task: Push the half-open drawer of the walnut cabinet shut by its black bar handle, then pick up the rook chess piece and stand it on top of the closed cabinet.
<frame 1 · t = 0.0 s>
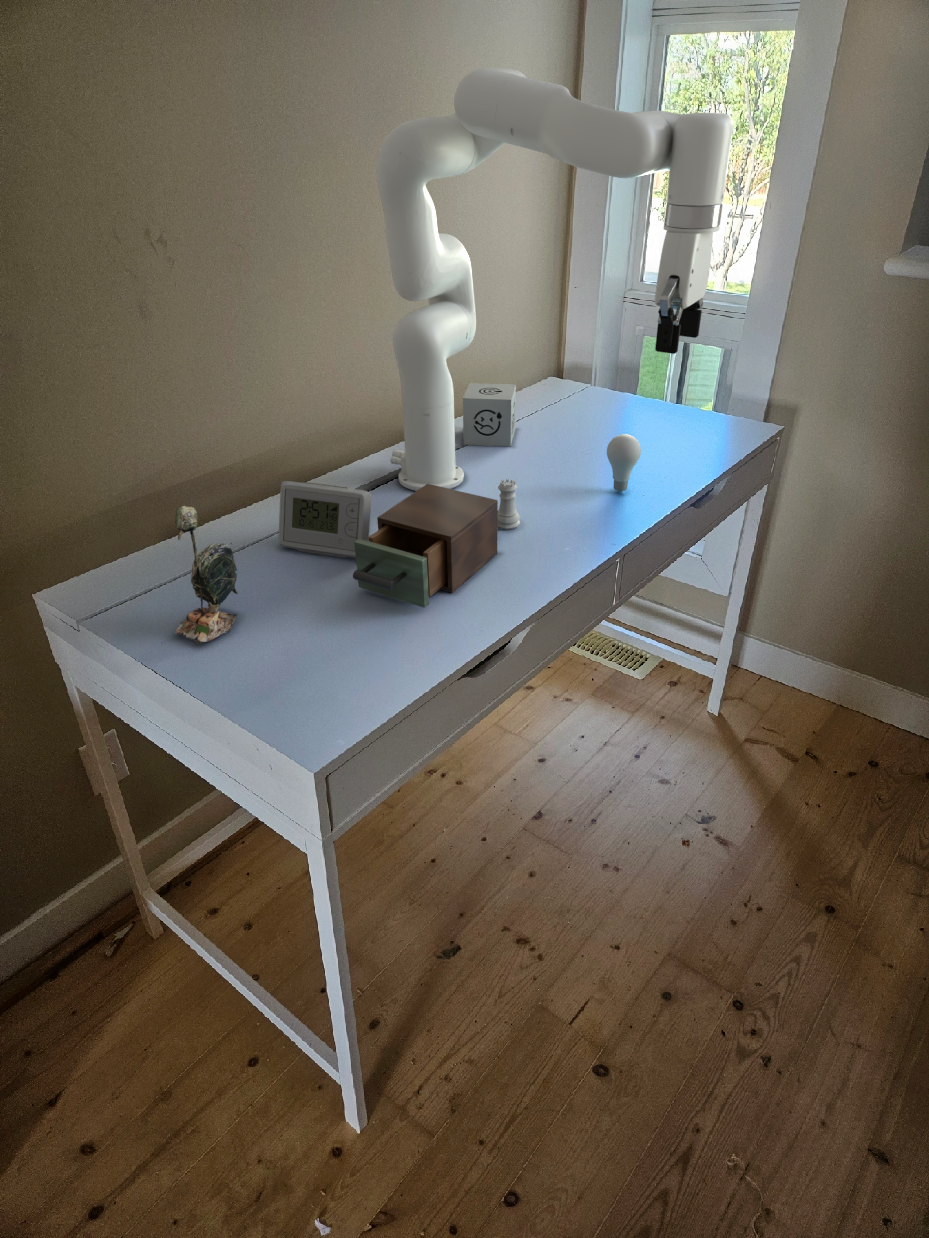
hand: (677, 344, 123), 31 cm above the table, tool pointing down, fingers open, 9 cm apart
rook chess piece: (507, 525, 144), on the table
lightbulb: (619, 492, 154), on the table
digital clock: (327, 549, 137), on the table
icon cube: (489, 437, 179), on the table
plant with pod: (214, 625, 119), on the table
drawer: (405, 561, 123), point 5 cm above the table, slide at 5.5 cm
cabinet: (440, 562, 133), on the table
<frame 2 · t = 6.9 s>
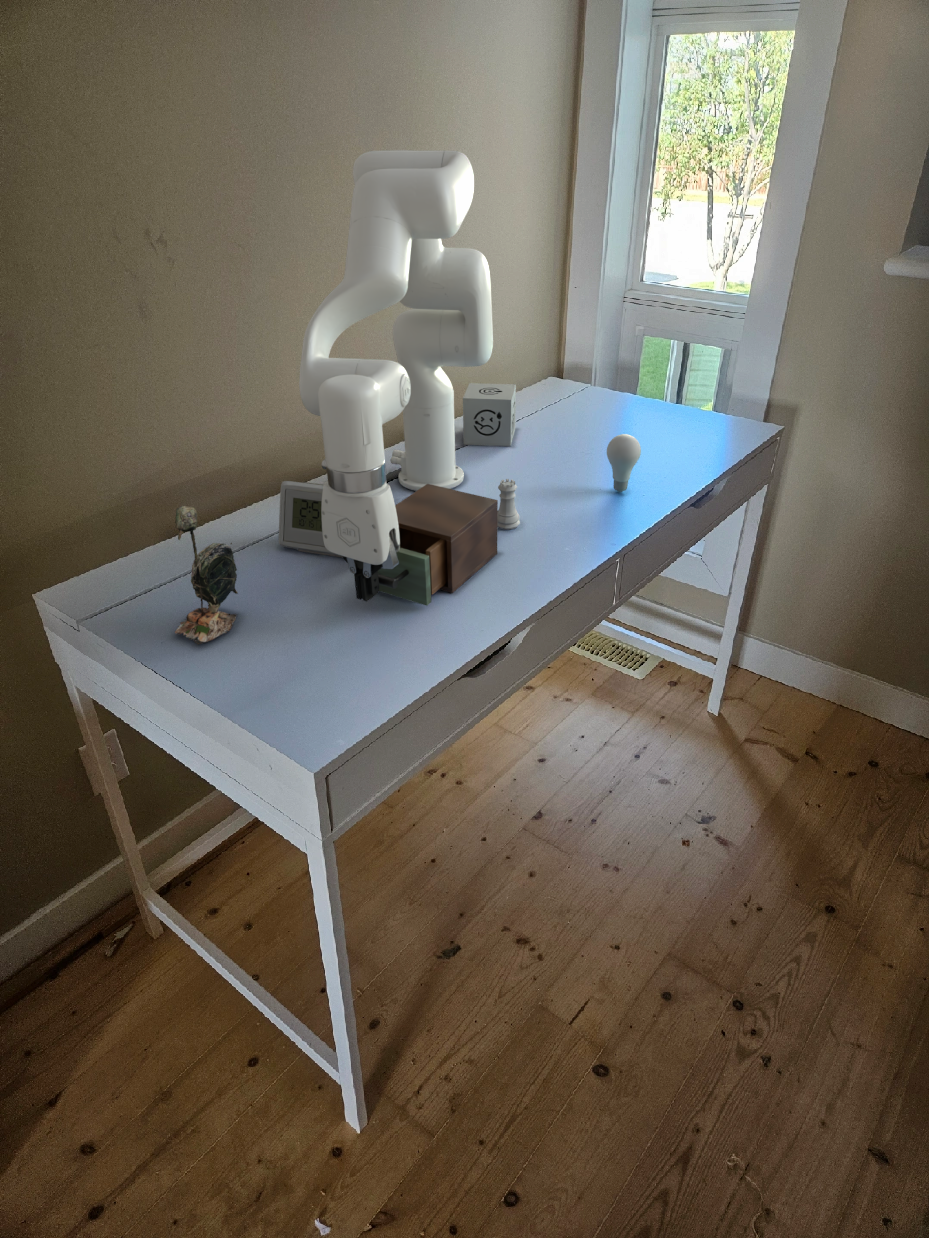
hand: (368, 595, 117), 4 cm above the table, tool pointing down, fingers closed
drawer: (408, 560, 124), point 5 cm above the table, slide at 4.9 cm, touching gripper
everything else where it was.
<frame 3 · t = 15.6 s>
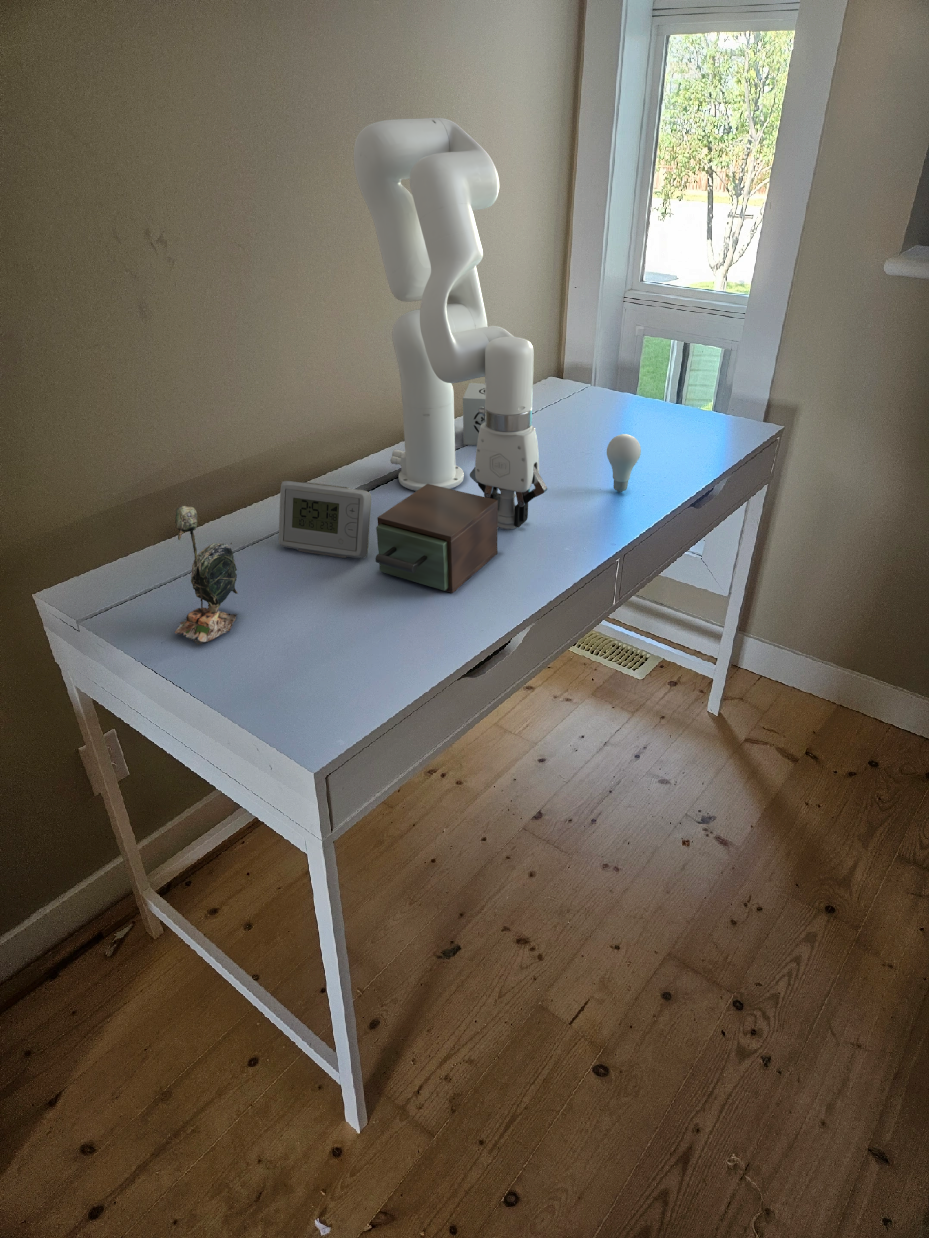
hand: (507, 519, 143), 1 cm above the table, tool pointing down, fingers closed on rook chess piece, 4 cm apart
rook chess piece: (507, 525, 144), on the table, touching gripper
drawer: (426, 546, 127), point 5 cm above the table, slide at 0.0 cm
everything else where it was.
when the fingers open (11 cm above the table, at t = 21.8 s): rook chess piece stays where it is, resting on cabinet.
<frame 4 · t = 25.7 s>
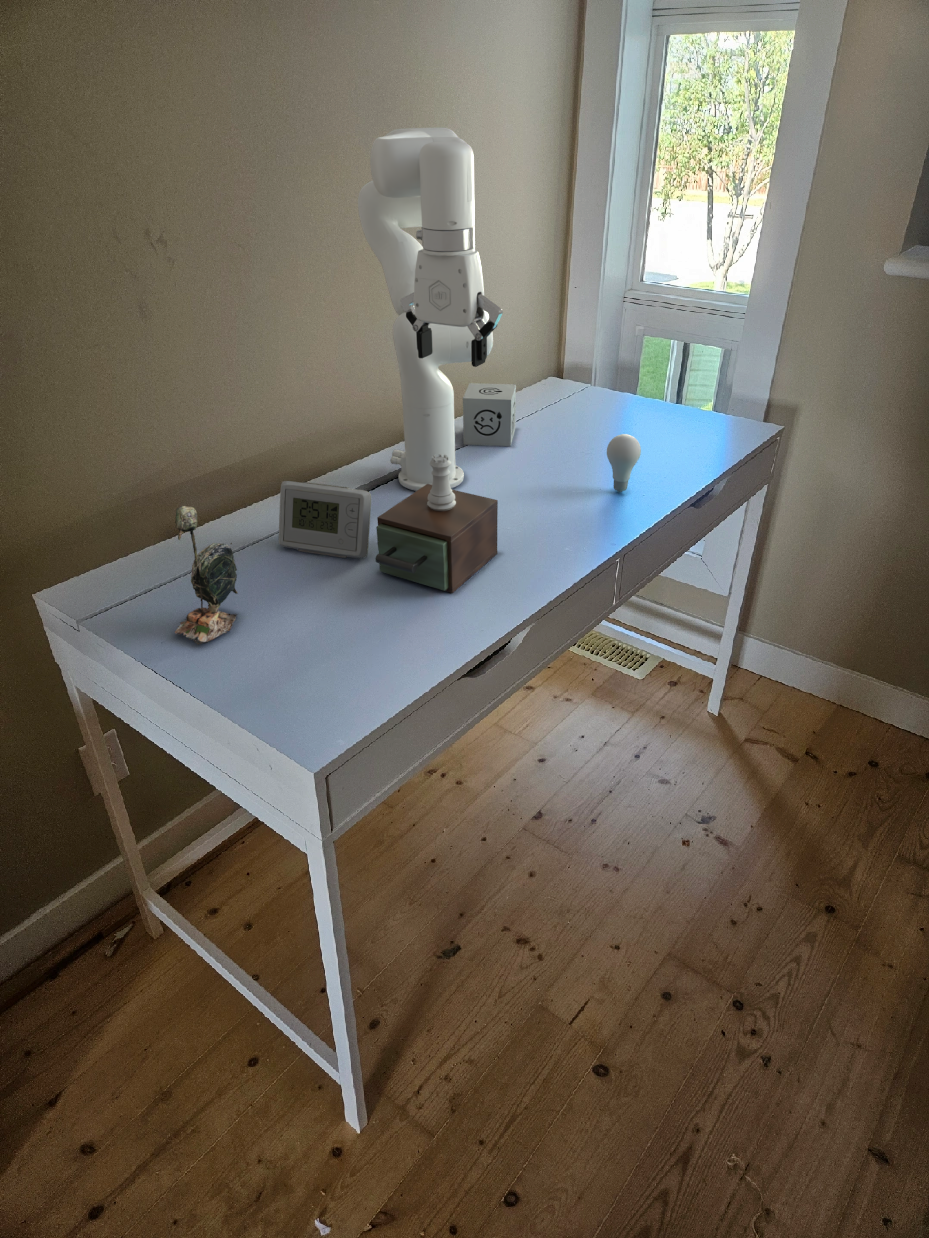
hand: (451, 360, 129), 28 cm above the table, tool pointing down, fingers open, 9 cm apart
rook chess piece: (441, 507, 128), point 9 cm above the table, touching cabinet
everything else where it was.
at the end: drawer slide at 0.0 cm; rook chess piece inside the target area on the cabinet (0.5 cm from its centre), point 9.4 cm above the cabinet's base; rook chess piece tilted 0° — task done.
